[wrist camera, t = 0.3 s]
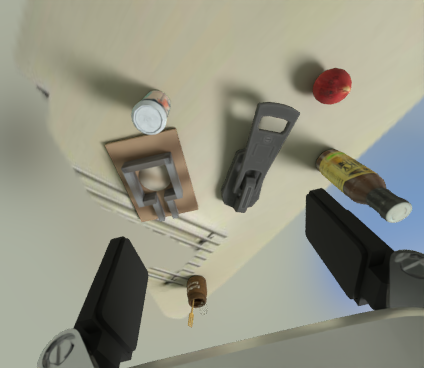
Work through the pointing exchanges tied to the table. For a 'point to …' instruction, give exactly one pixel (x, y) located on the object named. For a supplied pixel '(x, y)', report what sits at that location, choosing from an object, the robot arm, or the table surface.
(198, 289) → the utensil holder
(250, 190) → the zipper pull
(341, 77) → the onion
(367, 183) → the sauce bottle
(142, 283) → the robot arm
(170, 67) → the table surface
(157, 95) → the beer can
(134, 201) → the keyhole board
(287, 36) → the table surface
